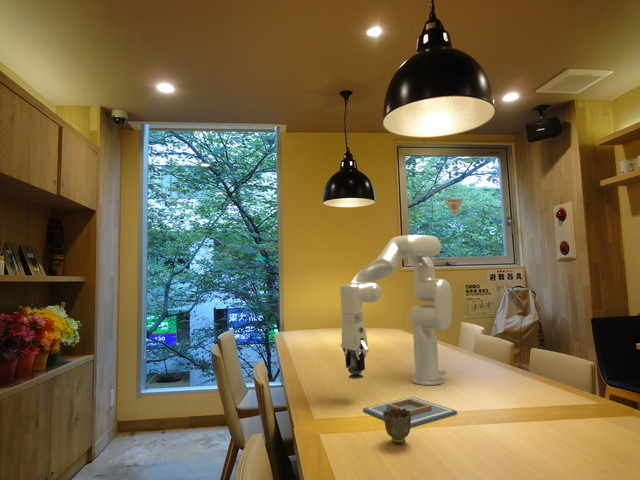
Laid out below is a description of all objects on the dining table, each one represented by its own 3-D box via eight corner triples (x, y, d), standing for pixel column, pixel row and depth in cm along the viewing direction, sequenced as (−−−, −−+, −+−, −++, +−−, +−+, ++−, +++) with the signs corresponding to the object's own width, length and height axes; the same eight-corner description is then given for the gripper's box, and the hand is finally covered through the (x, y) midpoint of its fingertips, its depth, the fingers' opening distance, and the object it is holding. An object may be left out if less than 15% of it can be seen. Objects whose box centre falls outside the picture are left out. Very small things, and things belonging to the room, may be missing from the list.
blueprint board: (412, 399, 147) (411, 392, 147) (457, 414, 130) (456, 405, 130) (363, 411, 135) (362, 403, 135) (405, 429, 118) (404, 420, 118)
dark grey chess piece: (363, 379, 144) (361, 344, 144) (346, 379, 145) (344, 344, 146) (364, 374, 149) (362, 341, 150) (348, 374, 150) (346, 341, 151)
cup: (381, 438, 112) (380, 408, 113) (407, 436, 113) (406, 406, 114) (388, 449, 105) (386, 417, 106) (416, 447, 106) (414, 415, 106)
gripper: (375, 318, 143) (378, 371, 142) (347, 315, 158) (350, 363, 157) (358, 321, 139) (361, 375, 138) (330, 317, 154) (333, 366, 153)
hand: (355, 368), depth 147 cm, fingers closed on dark grey chess piece, 5 cm apart
